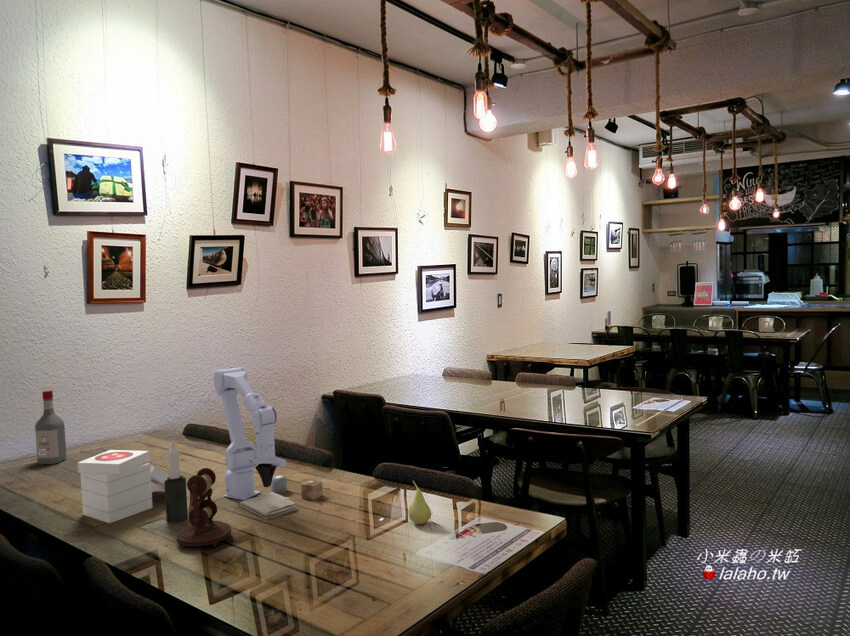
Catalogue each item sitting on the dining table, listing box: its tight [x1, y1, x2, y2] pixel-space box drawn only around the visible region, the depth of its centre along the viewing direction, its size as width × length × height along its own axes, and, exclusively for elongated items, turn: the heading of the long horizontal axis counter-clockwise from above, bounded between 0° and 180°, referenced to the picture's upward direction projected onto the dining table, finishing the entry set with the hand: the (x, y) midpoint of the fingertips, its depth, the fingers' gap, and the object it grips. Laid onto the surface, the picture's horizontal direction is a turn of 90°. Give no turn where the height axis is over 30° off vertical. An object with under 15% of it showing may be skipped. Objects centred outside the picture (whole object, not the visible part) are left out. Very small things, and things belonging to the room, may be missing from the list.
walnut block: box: [300, 479, 323, 501], centre depth 213 cm, size 5×5×5 cm
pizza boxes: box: [77, 449, 170, 524], centre depth 209 cm, size 19×30×18 cm, turn 147°
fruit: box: [407, 480, 432, 525], centre depth 187 cm, size 7×8×12 cm
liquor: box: [34, 389, 68, 465], centre depth 263 cm, size 9×9×30 cm
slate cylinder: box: [271, 474, 288, 495], centre depth 219 cm, size 5×5×5 cm
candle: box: [164, 440, 189, 524], centre depth 195 cm, size 5×5×25 cm
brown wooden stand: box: [176, 467, 232, 548], centre depth 179 cm, size 15×15×20 cm
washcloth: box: [239, 491, 298, 520], centre depth 204 cm, size 12×18×3 cm, turn 45°
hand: (267, 486), depth 203 cm, fingers closed
